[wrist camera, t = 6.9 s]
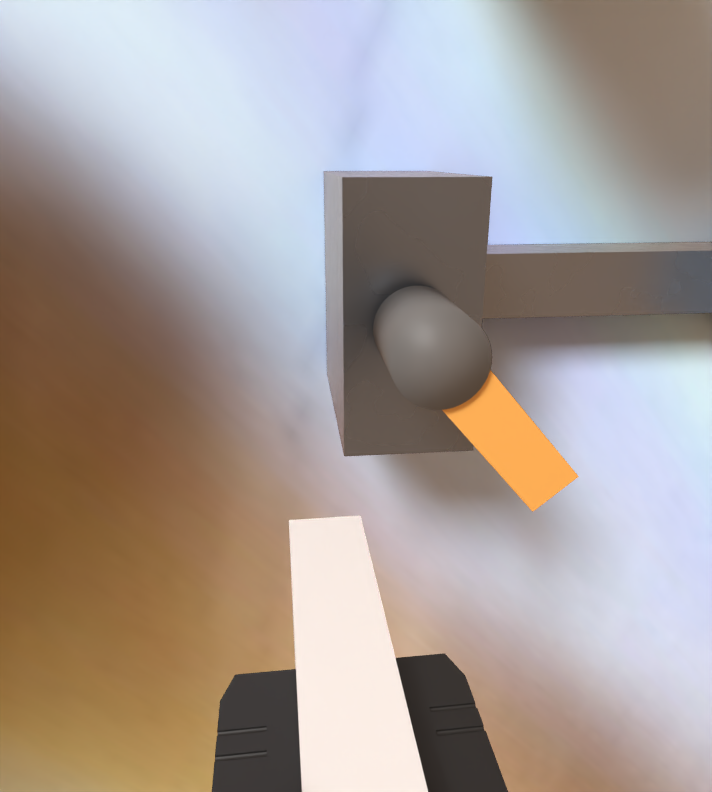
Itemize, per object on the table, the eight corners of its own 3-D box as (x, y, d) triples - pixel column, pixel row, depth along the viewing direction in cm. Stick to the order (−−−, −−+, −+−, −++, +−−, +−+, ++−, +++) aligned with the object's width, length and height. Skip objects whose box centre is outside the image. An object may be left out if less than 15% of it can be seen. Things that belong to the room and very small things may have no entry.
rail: (435, 305, 26) (450, 319, 24) (437, 245, 26) (453, 254, 23) (858, 295, 28) (910, 307, 26) (874, 239, 27) (929, 247, 25)
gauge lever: (485, 470, 20) (521, 526, 17) (355, 325, 18) (369, 359, 15) (548, 421, 19) (596, 469, 16) (421, 267, 17) (450, 289, 14)
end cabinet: (326, 376, 27) (344, 460, 19) (323, 171, 24) (342, 176, 17) (420, 373, 27) (472, 454, 20) (428, 171, 25) (492, 176, 17)
